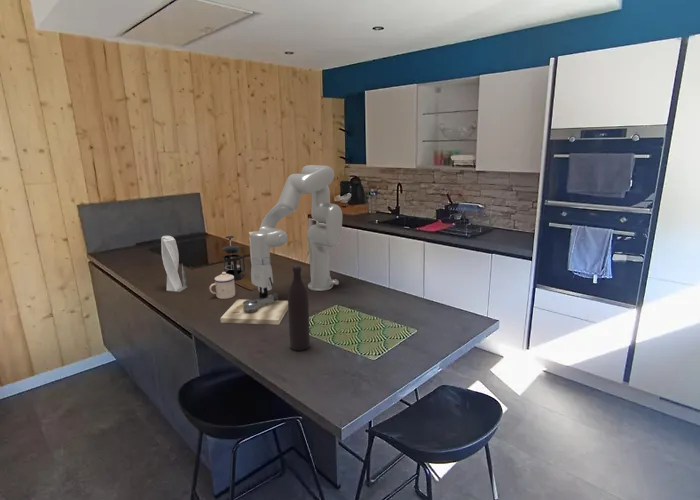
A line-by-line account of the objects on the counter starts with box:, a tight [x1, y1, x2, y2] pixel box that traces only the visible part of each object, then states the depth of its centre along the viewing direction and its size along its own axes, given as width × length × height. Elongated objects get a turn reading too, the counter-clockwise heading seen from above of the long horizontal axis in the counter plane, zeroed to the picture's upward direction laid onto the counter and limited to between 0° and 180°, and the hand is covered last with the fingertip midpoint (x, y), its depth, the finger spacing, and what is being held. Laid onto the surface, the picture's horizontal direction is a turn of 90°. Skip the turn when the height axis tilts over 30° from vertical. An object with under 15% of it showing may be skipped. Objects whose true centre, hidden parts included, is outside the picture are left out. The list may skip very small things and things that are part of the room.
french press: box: [221, 235, 246, 282], centre depth 216 cm, size 12×9×23 cm
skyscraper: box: [160, 235, 188, 293], centre depth 199 cm, size 8×8×28 cm
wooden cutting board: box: [220, 299, 288, 326], centre depth 174 cm, size 24×20×3 cm
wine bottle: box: [287, 264, 311, 352], centre depth 143 cm, size 7×7×30 cm
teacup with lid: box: [209, 271, 236, 300], centre depth 192 cm, size 12×9×12 cm
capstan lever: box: [237, 292, 279, 312], centre depth 175 cm, size 20×6×3 cm, turn 137°
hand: (264, 300), depth 180 cm, fingers closed
